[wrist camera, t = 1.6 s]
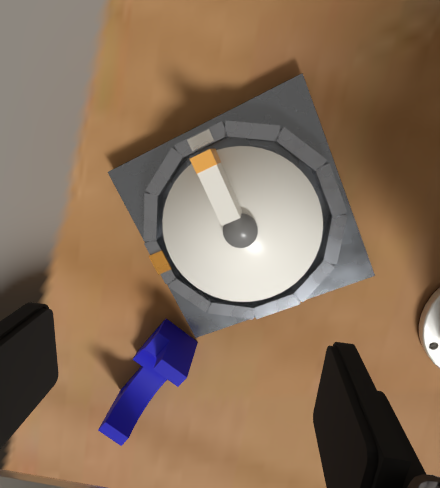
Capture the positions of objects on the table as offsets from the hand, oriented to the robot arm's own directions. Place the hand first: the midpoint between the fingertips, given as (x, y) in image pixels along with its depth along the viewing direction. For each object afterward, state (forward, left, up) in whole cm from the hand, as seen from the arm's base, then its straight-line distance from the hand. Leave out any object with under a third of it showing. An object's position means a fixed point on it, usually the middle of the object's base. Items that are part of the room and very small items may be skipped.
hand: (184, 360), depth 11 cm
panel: (-1, +1, -22) cm, 22 cm away
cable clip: (+16, +12, -22) cm, 30 cm away
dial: (-1, +1, -20) cm, 20 cm away
